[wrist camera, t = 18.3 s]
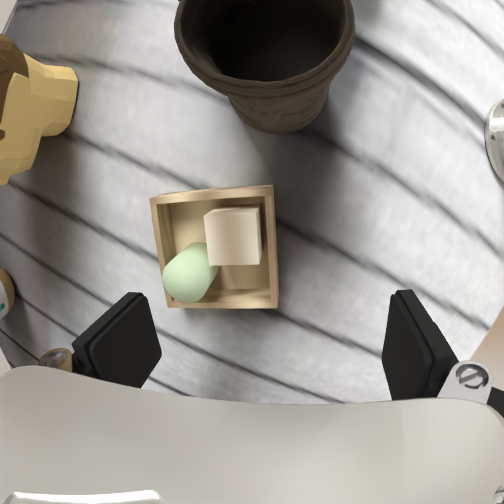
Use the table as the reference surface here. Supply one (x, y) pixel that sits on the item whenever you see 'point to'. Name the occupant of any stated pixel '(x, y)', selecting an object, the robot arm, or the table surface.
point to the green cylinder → (189, 273)
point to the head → (30, 106)
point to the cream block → (234, 234)
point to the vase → (6, 293)
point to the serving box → (193, 230)
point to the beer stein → (267, 54)
